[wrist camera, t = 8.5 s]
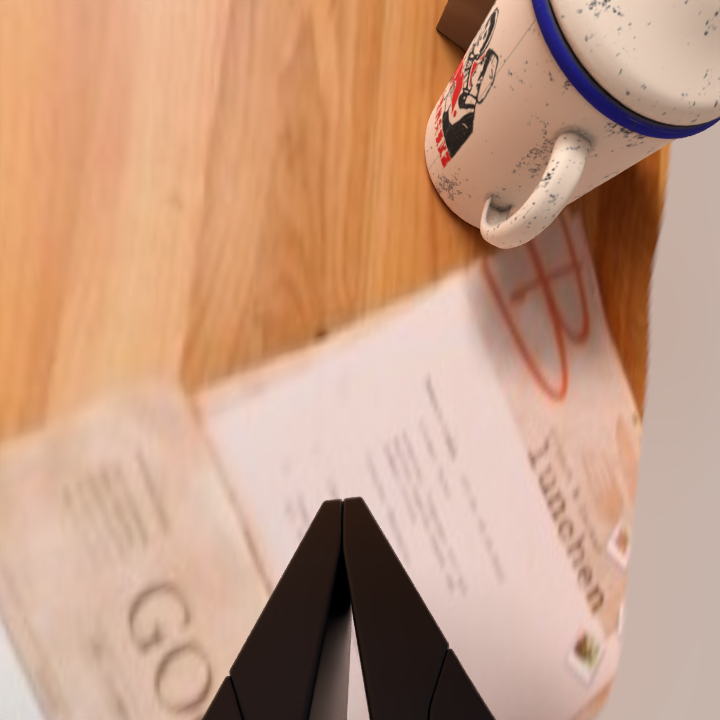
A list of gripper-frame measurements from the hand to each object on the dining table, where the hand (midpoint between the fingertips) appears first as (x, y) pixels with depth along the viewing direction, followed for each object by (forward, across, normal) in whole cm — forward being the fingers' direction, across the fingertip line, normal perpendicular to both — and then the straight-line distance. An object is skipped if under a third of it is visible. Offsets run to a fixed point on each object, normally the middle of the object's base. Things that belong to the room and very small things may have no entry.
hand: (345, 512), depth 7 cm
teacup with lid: (+16, -9, -7) cm, 19 cm away
